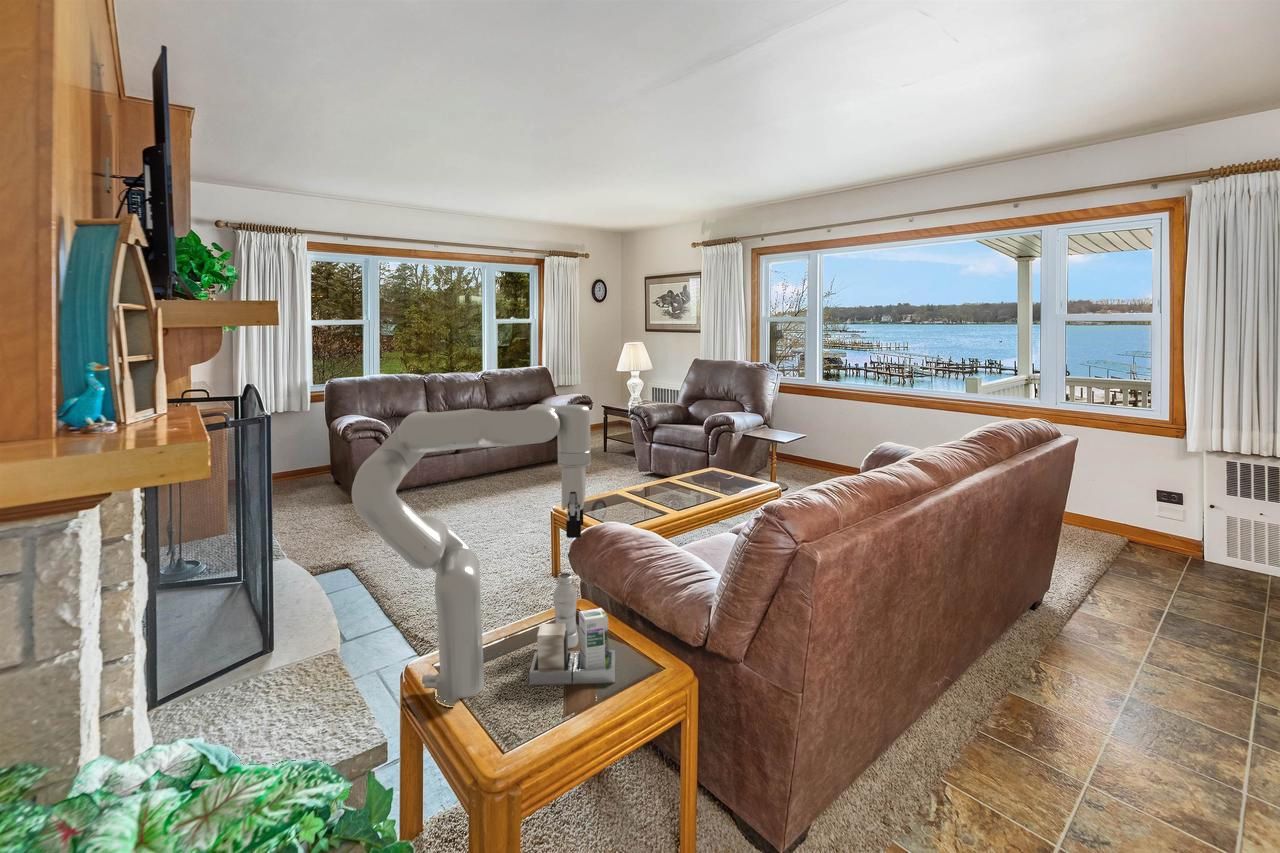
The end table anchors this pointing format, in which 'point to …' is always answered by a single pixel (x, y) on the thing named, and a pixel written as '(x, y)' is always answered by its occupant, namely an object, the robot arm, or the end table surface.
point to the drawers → (573, 672)
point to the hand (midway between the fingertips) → (575, 531)
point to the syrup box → (594, 639)
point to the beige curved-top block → (552, 647)
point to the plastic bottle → (566, 607)
